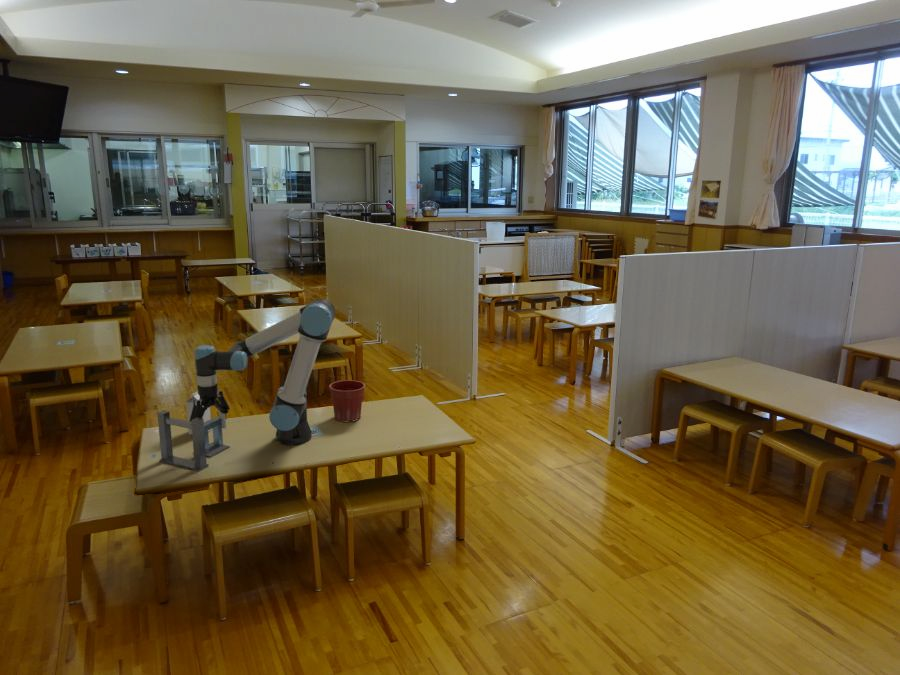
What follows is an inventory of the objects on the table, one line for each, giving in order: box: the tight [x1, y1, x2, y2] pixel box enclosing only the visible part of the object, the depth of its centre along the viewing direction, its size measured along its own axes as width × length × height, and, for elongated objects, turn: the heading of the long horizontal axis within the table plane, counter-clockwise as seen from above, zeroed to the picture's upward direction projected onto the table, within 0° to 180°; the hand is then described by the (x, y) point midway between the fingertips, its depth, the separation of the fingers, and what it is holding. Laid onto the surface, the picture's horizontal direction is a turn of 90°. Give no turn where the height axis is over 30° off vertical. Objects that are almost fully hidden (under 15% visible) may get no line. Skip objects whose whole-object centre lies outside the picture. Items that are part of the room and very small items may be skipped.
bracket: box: [204, 416, 224, 454], centre depth 262 cm, size 10×3×12 cm, turn 157°
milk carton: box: [185, 390, 212, 436], centre depth 279 cm, size 7×7×19 cm
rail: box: [157, 410, 210, 472], centre depth 249 cm, size 20×5×20 cm, turn 67°
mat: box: [192, 442, 231, 458], centre depth 264 cm, size 9×11×1 cm
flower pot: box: [329, 379, 366, 422], centre depth 301 cm, size 16×16×16 cm
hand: (211, 433), depth 262 cm, fingers open, 13 cm apart
